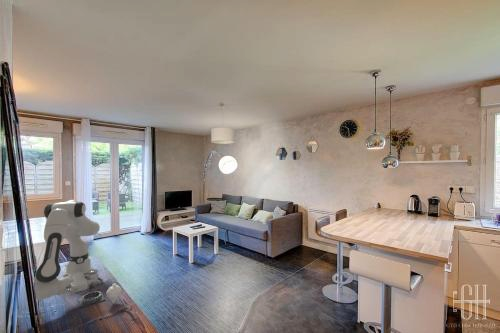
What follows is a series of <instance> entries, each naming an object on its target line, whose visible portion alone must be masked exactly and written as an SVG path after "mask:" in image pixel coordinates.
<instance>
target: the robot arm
mask: <svg viewBox="0 0 500 333" xmlns="http://www.w3.org/2000/svg"><path fill="white" fill-rule="evenodd" d="M43 209H44V210H43V214H44V217H45V218H46V221H45V226H44V228H43V229H44V230H43V240H44V242H45V250H44V254H43V260H42V262H41V263H40V265H39V266H38V268H37V269H36V271H35V275H34V277H33V279H34V283H35V293H36V299H37V301H41V300H46V299H48V298H51V297H54V296H61V295H64V294H67V293H70V292H71V293H78V292H83V291H85V290H88V289H87V287H88V284H90V283H92V282H95V278H91V279H90V280H86V278H87V277H88V275H87V273H88V271H89V270H92V269H94V267H93V266H91V265H92V264H91V263H92V262H91V259H90V257H89V255H90V254H89V243H88V242H87V241H86V240H84V239H82V238H81V237H91V236H96V235H97V234H98V233H99V231H100V228H101V227H100V224H99V223H98V222H96V221H93V220H92V219H90V218H88V217H87V215H86V214H85V213H86V210H87V208H86V204H85V203H84V202H82V201H78V200H77V199H70V200H69V199H68V200H67V201H63V202H62V201H61V202H50V203H48V204H47V205H46V206H45V207H44V208H43ZM64 239H66V241H67V243H68V244H69V249H70V251H69V252H70V253H69V258H68V262H67V263H66V264H65V265H64V271H63V274H62V276H61V277H60V278H59V275H60V273H61V265H60V262H59V256H60V251H61V247H62V246H61V245H62V243H63V241H64ZM57 277H58V278H57Z"/></svg>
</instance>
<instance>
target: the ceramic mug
mask: <svg viewBox="0 0 500 333" xmlns="http://www.w3.org/2000/svg"><path fill="white" fill-rule="evenodd" d="M86 275H88V274H87V273H86ZM86 280H87V278H86ZM103 282H104V280H103V279H102V278H101V277H99V274H98V272H97V285H101V284H102V283H103Z"/></svg>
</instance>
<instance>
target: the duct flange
mask: <svg viewBox="0 0 500 333" xmlns="http://www.w3.org/2000/svg"><path fill="white" fill-rule="evenodd" d="M77 300H78V302H79V303H78V304H79V305H80V309H83V308H85V307H89V306H93V305H95V304H98V303H101V302H104V301H106V298H105V296H104V294H103V292H102V291H98V290H95V291H94V290H93V291H90V292H87V293H85V294H84V295H82V296H81V297H79V298H78V299H77Z"/></svg>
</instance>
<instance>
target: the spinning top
mask: <svg viewBox="0 0 500 333" xmlns="http://www.w3.org/2000/svg"><path fill="white" fill-rule="evenodd" d="M121 292H122V288H121V286H120V285H117V283H112V284H111V286H109V288H107V290H106V296H107V298H108V299H109V301H111V302H112V304H115V301H116V300H117V299H118V298H119V297H120V294H121Z"/></svg>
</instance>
